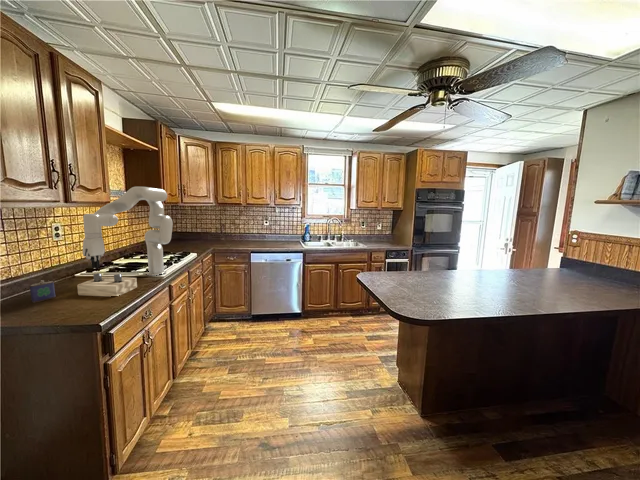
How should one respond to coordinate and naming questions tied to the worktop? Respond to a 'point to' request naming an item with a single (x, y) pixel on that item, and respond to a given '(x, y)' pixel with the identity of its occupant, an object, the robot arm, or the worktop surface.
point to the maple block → (107, 287)
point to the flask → (42, 291)
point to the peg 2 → (117, 278)
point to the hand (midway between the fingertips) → (95, 267)
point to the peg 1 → (97, 277)
